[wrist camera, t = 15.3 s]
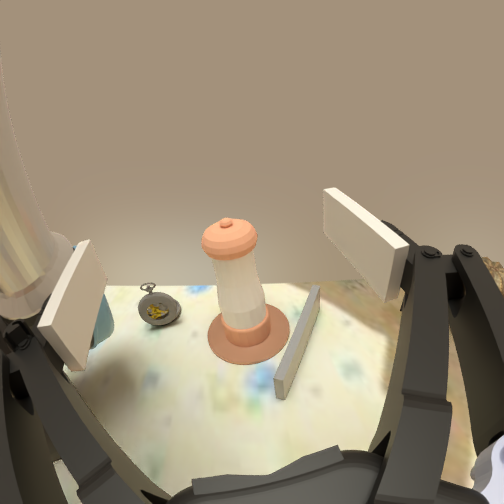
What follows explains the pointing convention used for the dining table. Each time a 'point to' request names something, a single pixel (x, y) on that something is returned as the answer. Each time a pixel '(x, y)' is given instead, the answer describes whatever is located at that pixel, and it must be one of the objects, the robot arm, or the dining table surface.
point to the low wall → (297, 344)
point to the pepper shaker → (237, 281)
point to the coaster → (253, 353)
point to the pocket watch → (158, 307)
